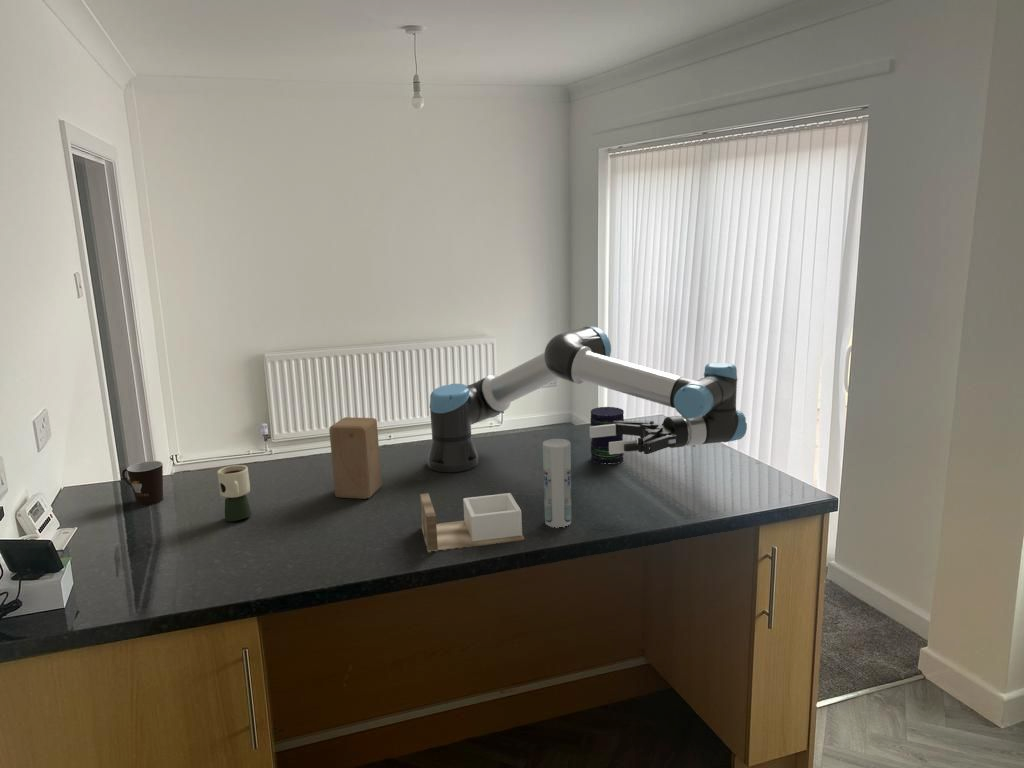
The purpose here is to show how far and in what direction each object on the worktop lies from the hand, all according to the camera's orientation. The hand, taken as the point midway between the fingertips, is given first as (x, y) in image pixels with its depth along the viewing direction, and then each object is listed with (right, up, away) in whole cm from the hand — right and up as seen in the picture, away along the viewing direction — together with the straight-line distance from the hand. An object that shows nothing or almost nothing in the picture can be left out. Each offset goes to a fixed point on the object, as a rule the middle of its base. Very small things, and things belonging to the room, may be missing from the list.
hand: (599, 440), depth 173 cm
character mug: (-89, -21, +12) cm, 92 cm away
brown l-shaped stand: (-30, -22, -2) cm, 37 cm away
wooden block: (-62, -17, +27) cm, 70 cm away
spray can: (-9, -20, +3) cm, 22 cm away
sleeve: (-25, -21, -1) cm, 33 cm away
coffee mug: (-119, -19, +26) cm, 124 cm away
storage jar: (+8, -10, +47) cm, 48 cm away
